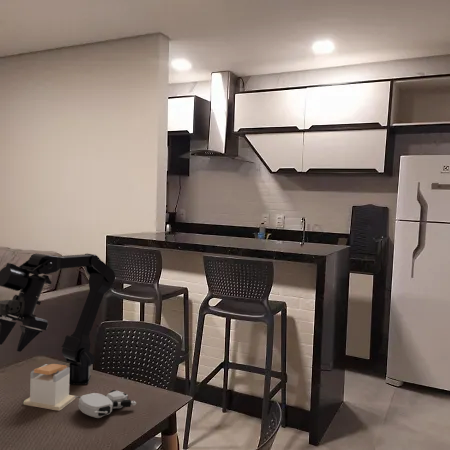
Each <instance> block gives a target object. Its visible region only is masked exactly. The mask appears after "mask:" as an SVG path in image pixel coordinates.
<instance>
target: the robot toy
mask: <svg viewBox="0 0 450 450" xmlns="http://www.w3.org/2000/svg"><path fill="white" fill-rule="evenodd" d="M128 395H129V394H127V393H126V392H123V391H119V390H117V389H112V390H111V391H109V392H108V393H107V394H105V395H104V394H102V393H97V392H92V393H87V394H83V395H81V396H77V395H73V396H74V397H75V399H76V398H79V399H78V405H77V407H78V409H79V410H80V412H82V413H83V414H85V415H87V416H89V417H92V418H96V419H100V418H102V417H104V416H107V415H110V414H111V413H112V412H113V409H114V410H115V409H122V408H131V406H136V404H137V402H136V401H135V400H131V399H129V396H128Z"/></svg>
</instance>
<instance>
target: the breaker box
mask: <svg viewBox="0 0 450 450" xmlns="http://www.w3.org/2000/svg"><path fill="white" fill-rule="evenodd" d="M47 365H49V364H47V363H45V364H43V365H41V366H39V367H38V368H40V367H43V366H47ZM69 377H70V367H69V366H67V367H66V368H65V369H64V370H62V371H59V373H57V374H50V375H46V374H40V373H34V370H31V372H30V385H29V386H30V389H29V390H30V391H29V397H28V398H26V399H25V400H24V401H23V405H24V406H29V407H37V408H42V409H48V410H53V411H59V412H60V411H61V410H63V409H64V408H65V407H66V406H68V405H69V404H70V403H71V402H73V401H74V400H75V399H76V398H75V397H74V396H75V395H72V394H70V384H69Z"/></svg>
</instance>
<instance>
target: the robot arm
mask: <svg viewBox="0 0 450 450" xmlns="http://www.w3.org/2000/svg"><path fill="white" fill-rule="evenodd" d="M83 267H84V268H85V271H86V273H87V274H88V275H89V278H88V288H89V291H88V294H87V296H86V300H85V302H84V306H83V308H82V311H81V313H80V316H79V319H78V321H77V324H76V326H75V330H74V332H73V333H72V334H71V335H68V334H67V335H65V338H64V341H63V343H62V345H61V348H62V349H61V354H62V356H63V357H64V358H65V359H64V360H65V362H67V363H69V366H68V367H70V377H69V385H88V384H89V382H90V380H91V376H92V375H91V366H92V365H93V364H94V363H95V360H96V356H95V355H93V353H91V352H90V350H91V345H92V344H91V338H90V334H91V331H92V329H93V327H94V326H93V325H94V324H95V320H96V317H97V315H98V312H99V310H100V306H101V305H102V304H101V303H102V302H103V298H104V295H105V294H106V293H107V292H108V291H109V290H111V288H112V286H113V284H114V283H115V280H116V274H115V273H116V272H115V270H113V269H112V268H111V267H110V266H109V265H108V264H106V263H105V262H104V261H103V260H101V259H100V257H99V256H98V255H97V254H92V253H83V254H70V255H69V254H68V255H67V254H66V255H52V254H51V255H50V254H44V253H38V252H37V253H32V254H31V256H30V257H29V258H28V260H26V261H25V262H23V263H22V264H20V266H19V265H16V264H14V263H10V262H7V263H6V266H4V267H3V268H1V269H0V287H2V288H6V289H9V290H12V291H15V292H18V291H19V292H18V294H14V295H13V297H12V299H3V300H0V346H1V345H3V344H4V342H5V341H6V340H7V338H8V336H10V333H11V332H12V330H13V329H14V327H15V326H16V325H17V322H16V321H18V322H21V324H22V325H19V327H20V330H21V334H20V338H19V341H18V343H17V344H18V345H17V348H16V352H18V353H20V352H22V351H23V350H24V349H25V348H26V347H27V346H28V345H29V344H30V342H32V341H33V340H34V339H35V338H36V337H37V336H38V335H40V333H43V332H44V331H47V329H48V327H49V321H48V319H45V318H40V317H37V315H36V314H34V313H35V310H36V308H37V306H38V305H39V306H40V305H41V303H42V301H40V300H39V299H40V296H41V294H42V291H43V290H44V287H45V284H47V285H52V281H51V279H50V276H49V275H51V274H54V273H57V272H59V270H62V269H63V270H64V269H73V268H83ZM30 274H31V275H30ZM41 275H42V276H41Z"/></svg>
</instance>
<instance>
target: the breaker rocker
mask: <svg viewBox="0 0 450 450" xmlns="http://www.w3.org/2000/svg"><path fill="white" fill-rule="evenodd" d="M42 366H43V365H42ZM39 367H40V368H39ZM39 367H37V368H34V369H33V371H34V373H40V374H46V375H50V374H57V373H59V372H60V371H62V370H64V369H65V368H67V367H68V366H67V365H65V364H64V365H63V364H57V363H51V364H48V365H47V366H43V367H41V366H39Z"/></svg>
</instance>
